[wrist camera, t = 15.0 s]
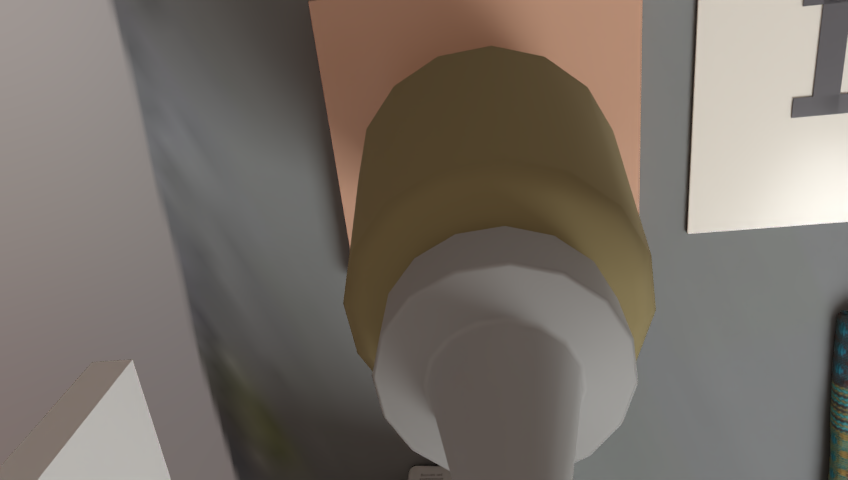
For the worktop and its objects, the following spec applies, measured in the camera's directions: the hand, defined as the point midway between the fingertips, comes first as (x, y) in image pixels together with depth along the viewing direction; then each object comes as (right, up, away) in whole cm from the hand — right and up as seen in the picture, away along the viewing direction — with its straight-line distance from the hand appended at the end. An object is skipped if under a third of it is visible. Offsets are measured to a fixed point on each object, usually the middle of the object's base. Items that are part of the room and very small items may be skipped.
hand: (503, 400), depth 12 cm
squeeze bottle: (+1, +6, +13) cm, 15 cm away
